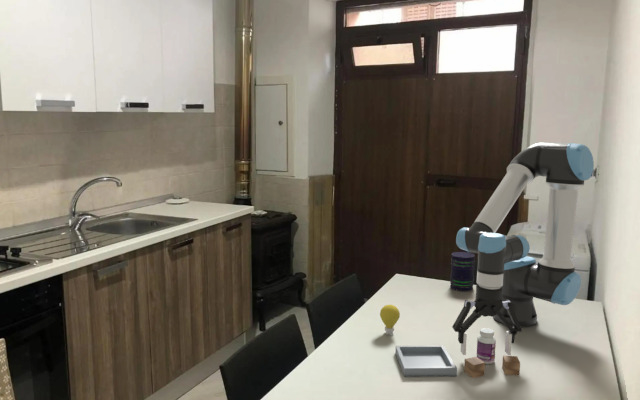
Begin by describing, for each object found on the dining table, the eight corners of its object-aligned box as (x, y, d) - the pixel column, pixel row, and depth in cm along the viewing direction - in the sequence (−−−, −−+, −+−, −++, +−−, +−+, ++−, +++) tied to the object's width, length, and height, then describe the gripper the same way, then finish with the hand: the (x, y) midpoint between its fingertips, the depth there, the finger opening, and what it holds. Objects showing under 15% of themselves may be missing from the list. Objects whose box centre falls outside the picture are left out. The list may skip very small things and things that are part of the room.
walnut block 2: (516, 369, 152) (517, 356, 152) (519, 375, 148) (520, 362, 148) (502, 368, 153) (502, 355, 152) (504, 374, 149) (505, 361, 148)
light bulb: (400, 330, 180) (401, 303, 178) (397, 338, 173) (398, 309, 172) (381, 328, 182) (382, 300, 180) (377, 335, 175) (378, 307, 174)
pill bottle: (495, 365, 154) (497, 334, 153) (477, 363, 155) (478, 333, 154) (493, 357, 159) (495, 327, 158) (475, 355, 160) (477, 326, 159)
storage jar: (450, 290, 222) (452, 256, 220) (448, 283, 231) (450, 251, 229) (474, 292, 220) (476, 257, 218) (472, 284, 230) (473, 252, 227)
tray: (443, 352, 162) (443, 345, 162) (456, 376, 148) (457, 367, 147) (395, 353, 162) (395, 345, 162) (404, 376, 147) (404, 368, 147)
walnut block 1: (475, 369, 152) (476, 356, 151) (484, 375, 148) (485, 362, 148) (464, 371, 150) (464, 359, 150) (472, 378, 147) (473, 365, 146)
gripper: (525, 281, 158) (521, 347, 161) (444, 281, 157) (441, 347, 160) (536, 289, 150) (531, 358, 153) (451, 289, 150) (447, 358, 153)
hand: (485, 353), depth 157 cm, fingers open, 13 cm apart
